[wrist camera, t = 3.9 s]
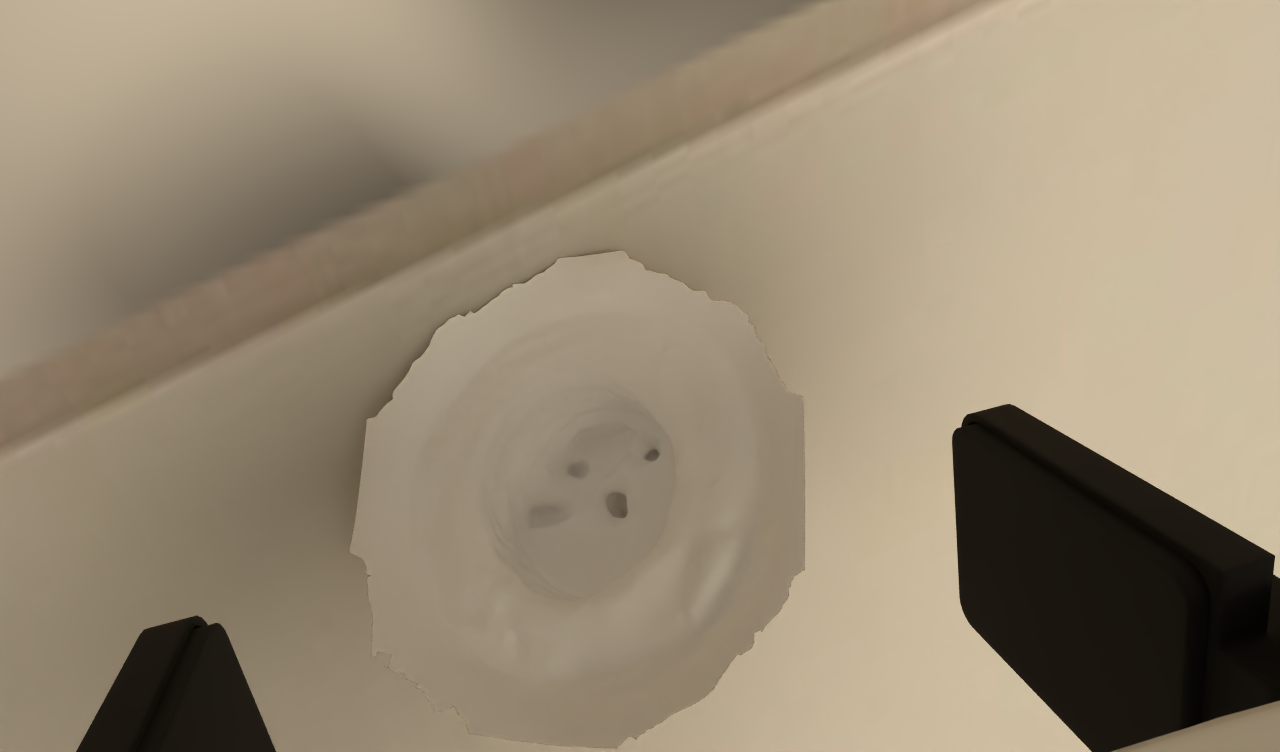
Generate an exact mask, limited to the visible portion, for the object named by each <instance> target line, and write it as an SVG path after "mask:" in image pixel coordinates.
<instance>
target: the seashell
mask: <svg viewBox="0 0 1280 752" xmlns="http://www.w3.org/2000/svg"><path fill="white" fill-rule="evenodd" d="M754 330H755V327H754V325H753V324H752V323H748V314H744V313H743V312H742V311H741V309H740V308H739V307H737V306H736V305H735V304H733V303H731V302H728V301H712V300H711V299H710V298H709V297H708V295H707V293H706V291H705V290H701V291H693V290H692V289H690V288H689V287H687V286H686V285H685V284H684V283H682V282H681V281H677V280H674V279H672V278H671V277H669V276H668V275H667V274H658V273H655V272H653V271H646V270H645V268H644V266H643V265H642V263H640V262H638V261H636V260H631V259H629V257H628V256H627V254H626V253H625V251H624V250H620V251H614V252H608V253H601V254H594V255H587V256H578V257H565V258H558V259H557V261H556V262H555V263H554V265H552V266H551V267H549V268H548V269H546V270H545V272H544V273H538V274H537V275H535V276H534V277H533V278H532V279H531V280H529V281H527V282H526V283H525V284H513V287H512V288H510V287H509V288H507V289H505V290H504V291H502V292H501V293H500V295H499V296H498V297H496V298H494V299H492V300H491V301H490V302H489V303H488V304H487V305H486V306H483V307H482V308H481V309H480V310H479V311H477V312H476V313H472V312H471V311H470V312H469V313H468V314H467V315H466V316H465V317H464V316H461V315H457V316H456V317H453V318H449V320H448V321H447V322H446V323H445V324H444V325H443V326H440V327H439V328H438V329H437V330H436V332H435V334H434V335H433V337H432V339H431V341H430V345H429V347H428V348H427V349H426V351H425V352H424V353H423V355H422V356H421V357H420V358H418V359H416V360H415V361H414V362H413V363H412V366H411V368H410V370H409V372H408V373H407V375H406V376H405V378H404V379H403V380H402V382H401V383H400V384H399V385H398V386H397V387H396V389H395V390H394V391H393V395H392V396H393V399H392V400H391V401H390V402H388V403H387V404H386V405H385V406H384V407H383V408H382V410H381V411H379V413H378V414H377V416H376V417H374V418H369V419H367V425H366V435H365V444H364V453H363V462H362V470H361V479H360V488H359V496H358V503H357V511H356V517H355V524H354V530H353V536H352V541H351V546H350V550H349V551H350V552H351V553H352V554H354V555H356V556H358V557H360V558H361V559H362V560H363V561H364V563H365V565H366V566H367V568H366V573H365V574H369V575H371V576H369V577H368V579H367V585H368V588H369V591H368V594H367V595H368V597H369V605H370V607H371V609H372V614H373V619H374V621H373V624H372V627H373V628H372V636H373V641H372V651H371V655H372V656H375V657H376V655H377V652H383V653H388V654H392V656H391V661H390V665H389V666H384V667H388V668H390V669H392V670H393V671H395V672H396V673H404V676H405V677H406V679H407V680H410V681H411V682H416V683H418V684H417V686H416V688H418V689H423V692H424V693H425V694H426V695H427V696H428V701H429V702H430V703H431V705H432V707H433V709H434V710H436V711H444V710H446V709H448V708H450V707H452V706H455V708H456V710H457V713H458V715H460V717H461V718H462V719H463V720H464V722H465V723H466V726H467V729H468V731H469V733H470V734H476V735H481V736H487V737H493V738H500V739H506V740H513V741H520V742H528V743H537V744H546V745H557V746H571V747H588V748H618V746H620V745H621V744H622V743H623V742H624V741H625V740H626V739H627V737H630V736H632V737H633V738H634V739H636V740H637V738H638V737H639V735H641V734H643V733H645V731H646V730H648V729H651V728H653V727H654V726H656V725H657V724H659V723H661V722H663V721H664V720H665V719H667V718H668V717H669V716H670V715H672V714H674V713H676V712H678V711H680V710H682V709H685V708H687V707H689V706H691V705H693V704H695V703H697V702H698V701H700V700H701V699H703V698H704V697H706V696H707V695H708V694H709V693H710V692H711V691H712V690H713V689H714V688H715V686H716V684H717V683H718V681H719V679H720V678H721V676H722V675H723V674H724V672H725V671H726V670H727V668H728V666H729V665H730V663H731V662H732V660H733V659H734V658H735V657H736V656H737V655H742V654H743V653H745V652H746V651H748V650H750V649H751V648H752V646H753V644H754V633H756V632H757V631H759V630H761V632H762V631H763V629H764V627H765V626H766V625H767V624H768V623H769V622H770V621H771V620H772V619H773V618H774V617H775V616H776V615H777V614H778V613H779V612H780V610H781V609H782V606H783V604H784V603H785V602H786V600H787V599H788V596H789V588H790V586H791V582H792V580H793V578H794V577H795V576H796V575H798V574H799V573H801V572H802V571H804V570H805V452H804V410H803V396H801V395H798V394H795V393H792V392H789V391H788V390H787V389H786V387H785V385H784V383H783V382H782V381H781V380H780V378H779V376H778V373H777V370H776V369H775V368H774V367H773V366H772V364H771V363H770V359H769V358H768V357H767V356H766V355H765V345H764V343H763V342H761V341H760V340H758V338H757V336H756V333H755V331H754Z"/></svg>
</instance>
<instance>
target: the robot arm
mask: <svg viewBox="0 0 1280 752" xmlns="http://www.w3.org/2000/svg"><path fill="white" fill-rule="evenodd" d="M952 448H953V469H954V489H955V510H956V531H957V552H958V573H959V594H960V603H961V606H962V610H963V612H964V614H965V617H966V618H967V620H968V622H969V623H970V625H971V626H972V627H973V628H974V629H975V630H976V631H977V632H978V633H979V635H980V636H981V637H982V638H983V639H984V640H985V641H986V642H987V643H988V644H989V645H990V646H991V647H992V648H993V649H994V650H995V651H996V652H997V653H998V654H999V655H1000V656H1001V657H1002V658H1003V660H1004V661H1005V662H1006V663H1007V664H1008V665H1009V666H1010V667H1011V668H1012V669H1013V670H1014V671H1015V672H1016V673H1017V674H1018V675H1019V676H1020V677H1021V678H1022V679H1023V680H1024V681H1025V682H1026V683H1027V685H1028V686H1029V687H1030V688H1031V689H1032V690H1033V691H1034V692H1035V693H1036V694H1037V695H1038V696H1039V697H1040V698H1041V699H1042V700H1043V701H1044V702H1045V703H1046V704H1047V705H1048V706H1049V707H1050V708H1051V709H1052V711H1053V712H1054V713H1055V714H1056V715H1057V716H1058V717H1059V718H1060V719H1061V720H1062V721H1063V722H1064V723H1065V724H1066V725H1067V726H1068V727H1069V728H1070V729H1071V730H1072V731H1073V732H1074V733H1075V734H1076V736H1077V737H1078V738H1079V739H1080V740H1081V741H1082V742H1083V743H1084V744H1085V745H1086V746H1087V747H1088V748H1089V749H1090V750H1091V751H1092V752H1280V578H1278V577H1276V576H1275V575H1273V570H1274V561H1275V556H1274V555H1273V554H1271V553H1269V552H1267V551H1266V550H1264V549H1262V548H1261V547H1259V546H1257V545H1255V544H1254V543H1252V542H1250V541H1248V540H1247V539H1245V538H1243V537H1241V536H1240V535H1238V534H1236V533H1234V532H1233V531H1231V530H1229V529H1228V528H1226V527H1224V526H1222V525H1221V524H1219V523H1217V522H1215V521H1214V520H1212V519H1210V518H1208V517H1207V516H1205V515H1203V514H1202V513H1200V512H1198V511H1196V510H1195V509H1193V508H1191V507H1189V506H1188V505H1186V504H1184V503H1182V502H1181V501H1179V500H1177V499H1175V498H1174V497H1172V496H1170V495H1169V494H1167V493H1165V492H1163V491H1162V490H1160V489H1158V488H1156V487H1155V486H1153V485H1151V484H1149V483H1148V482H1146V481H1144V480H1143V479H1141V478H1139V477H1137V476H1136V475H1134V474H1132V473H1130V472H1129V471H1127V470H1125V469H1123V468H1122V467H1120V466H1118V465H1116V464H1115V463H1113V462H1111V461H1110V460H1108V459H1106V458H1104V457H1103V456H1101V455H1099V454H1097V453H1096V452H1094V451H1092V450H1090V449H1089V448H1087V447H1085V446H1084V445H1082V444H1080V443H1078V442H1077V441H1075V440H1073V439H1071V438H1070V437H1068V436H1066V435H1064V434H1063V433H1061V432H1059V431H1057V430H1056V429H1054V428H1052V427H1051V426H1049V425H1047V424H1045V423H1044V422H1042V421H1040V420H1038V419H1037V418H1035V417H1033V416H1031V415H1030V414H1028V413H1026V412H1025V411H1023V410H1021V409H1019V408H1018V407H1016V406H1013V405H1011V404H1006V405H1002V406H998V407H994V408H990V409H987V410H983V411H979V412H975V413H971V414H967V415H966V417H965V418H964V419H963V422H962V427H961V428H957V429H956V430H955V431H954V433H953V437H952ZM76 752H276V751H275V748H274V746H273V743H272V741H271V739H270V736H269V734H268V731H267V729H266V727H265V724H264V722H263V719H262V717H261V715H260V712H259V710H258V707H257V705H256V703H255V700H254V698H253V695H252V693H251V691H250V688H249V686H248V683H247V681H246V679H245V676H244V674H243V671H242V669H241V667H240V664H239V662H238V659H237V657H236V655H235V652H234V650H233V647H232V645H231V643H230V640H229V638H228V635H227V633H226V631H225V629H224V628H223V627H222V626H221V624H218V623H215V624H211V625H207V623H206V622H205V621H204V620H203V619H202V618H201V617H199V616H193V617H189V618H186V619H182V620H178V621H174V622H170V623H166V624H163V625H159V626H155V627H151V628H148V629H145V630H144V631H143V632H142V633H141V634H140V636H139V637H138V639H137V641H136V643H135V645H134V647H133V648H132V650H131V652H130V654H129V656H128V658H127V659H126V661H125V663H124V665H123V667H122V669H121V670H120V672H119V674H118V676H117V678H116V680H115V681H114V683H113V685H112V687H111V689H110V691H109V692H108V694H107V696H106V698H105V700H104V702H103V703H102V705H101V707H100V709H99V711H98V713H97V714H96V716H95V718H94V720H93V722H92V724H91V725H90V727H89V729H88V731H87V733H86V735H85V736H84V738H83V740H82V742H81V744H80V746H79V747H78V749H77V751H76Z"/></svg>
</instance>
